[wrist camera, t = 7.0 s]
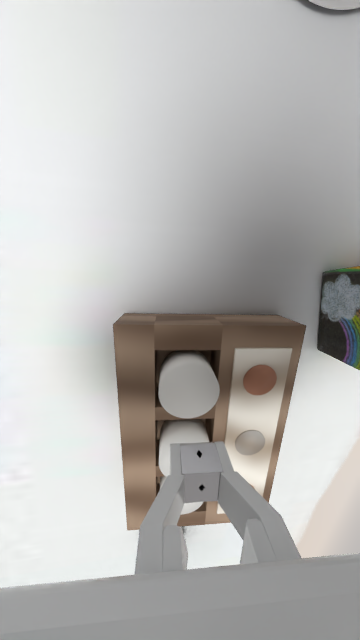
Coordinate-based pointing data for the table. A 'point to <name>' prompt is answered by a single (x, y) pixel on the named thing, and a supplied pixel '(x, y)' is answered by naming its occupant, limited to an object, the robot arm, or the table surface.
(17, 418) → the table surface
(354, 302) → the chalk box
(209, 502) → the board
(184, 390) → the button
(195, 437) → the middle button
